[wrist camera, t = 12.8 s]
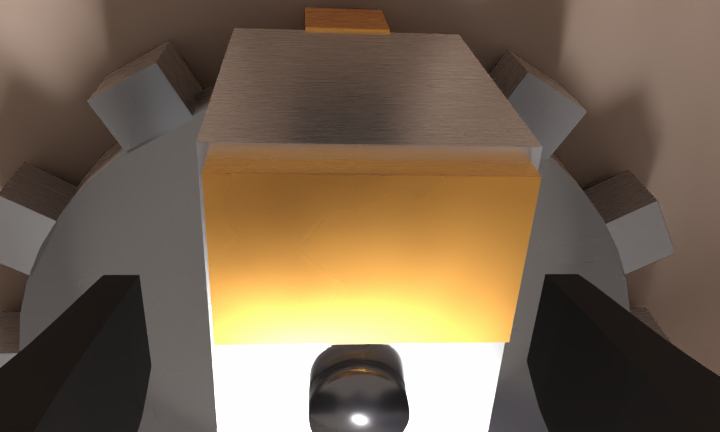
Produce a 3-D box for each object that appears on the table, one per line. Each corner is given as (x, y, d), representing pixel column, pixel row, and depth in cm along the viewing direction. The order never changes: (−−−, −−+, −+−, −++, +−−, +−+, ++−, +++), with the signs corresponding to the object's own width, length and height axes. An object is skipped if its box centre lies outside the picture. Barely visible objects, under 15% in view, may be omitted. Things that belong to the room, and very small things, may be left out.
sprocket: (784, 235, 17) (957, 383, 13) (410, 592, 23) (437, 778, 19) (177, -173, 12) (99, -171, 7) (-96, 427, 18) (-229, 628, 14)
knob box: (411, 432, 17) (452, 657, 13) (251, 435, 17) (231, 668, 12) (458, 34, 12) (553, 161, 8) (234, 27, 12) (191, 157, 7)
